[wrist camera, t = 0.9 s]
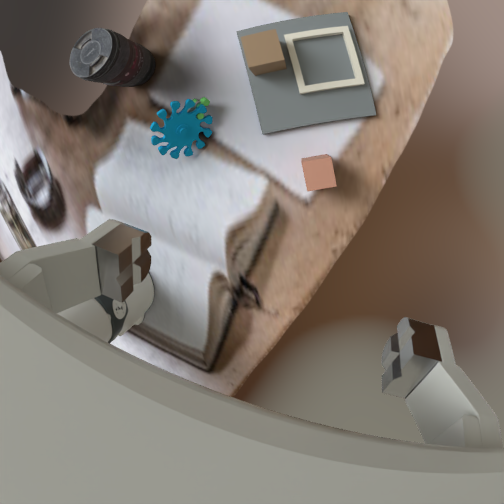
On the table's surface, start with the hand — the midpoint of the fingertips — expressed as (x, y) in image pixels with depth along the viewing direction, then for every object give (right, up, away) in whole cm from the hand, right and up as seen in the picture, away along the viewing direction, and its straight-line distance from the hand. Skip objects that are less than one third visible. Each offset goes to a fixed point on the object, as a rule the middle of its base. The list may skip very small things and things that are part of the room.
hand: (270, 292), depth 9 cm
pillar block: (+10, +14, +38) cm, 42 cm away
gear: (-10, +22, +39) cm, 46 cm away
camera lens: (-20, +33, +36) cm, 53 cm away
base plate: (+8, +29, +33) cm, 45 cm away
